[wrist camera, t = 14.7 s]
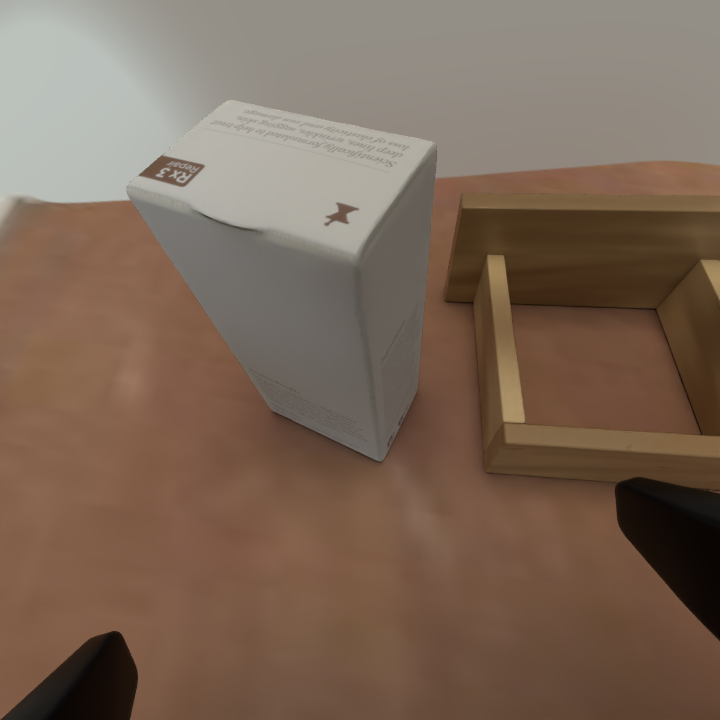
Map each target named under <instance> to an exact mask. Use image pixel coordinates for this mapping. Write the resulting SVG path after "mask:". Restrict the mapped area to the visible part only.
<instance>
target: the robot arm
mask: <svg viewBox="0 0 720 720" xmlns="http://www.w3.org/2000/svg"><path fill="white" fill-rule="evenodd" d="M615 497H616V509H617V520H618V524H619V527H620V529H621V531H622V532H623V534H624V535H625V536H626V538H627V539H628V540H629V541H630V542H631V543H632V545H633V546H634V547H635V548H636V549H637V550H638V551H639V553H640V554H641V555H642V556H643V557H644V558H645V560H646V561H647V562H648V563H649V564H650V565H651V567H652V568H653V569H654V570H655V571H656V572H657V574H658V575H659V576H660V577H661V578H662V579H663V581H664V582H665V583H666V584H667V585H668V586H669V587H670V589H671V590H672V591H673V592H674V593H675V594H676V596H677V597H678V598H679V599H680V600H681V601H682V602H683V603H684V605H685V606H686V607H687V608H688V609H689V610H690V611H691V612H692V613H693V614H694V615H695V616H696V617H697V618H698V619H699V621H700V622H701V623H702V624H703V625H704V626H705V627H706V628H707V629H708V630H709V631H710V632H711V633H712V634H713V635H714V636H715V637H716V638H717V639H718V640H719V641H720V494H717V493H713V492H708V491H704V490H699V489H694V488H690V487H685V486H681V485H676V484H671V483H667V482H662V481H658V480H653V479H648V478H644V477H633V478H630V479H627V480H623V481H620V482H618V483H617V484H616V487H615ZM137 683H138V673H137V668H136V665H135V663H134V660H133V658H132V656H131V654H130V651H129V649H128V647H127V644H126V642H125V640H124V638H123V636H122V634H121V633H120V632H118V631H112V632H108V633H105V634H102V635H98V636H95V637H92V638H91V639H89V640H88V641H86V642H85V643H84V644H83V645H82V646H81V647H80V648H79V649H78V650H77V651H75V652H74V653H73V654H72V655H71V656H70V657H69V658H68V659H67V660H66V661H65V662H63V663H62V664H61V665H60V666H59V667H58V668H57V669H56V670H55V671H54V672H52V673H51V674H50V675H49V676H48V677H47V678H46V679H45V680H44V681H43V682H42V683H40V684H39V685H38V686H37V687H36V688H35V689H34V690H33V691H32V692H31V693H29V694H28V695H27V696H26V697H25V698H24V699H23V700H22V701H21V702H20V703H19V704H17V705H16V706H15V707H14V708H13V709H12V710H11V711H10V712H9V713H8V714H6V715H5V716H4V717H3V718H2V719H1V720H130V717H131V712H132V707H133V703H134V698H135V693H136V689H137Z"/></svg>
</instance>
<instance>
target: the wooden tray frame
mask: <svg viewBox="0 0 720 720" xmlns="http://www.w3.org/2000/svg"><path fill="white" fill-rule="evenodd" d="M445 301H453V302H474V318H475V333H476V347H477V362H478V377H479V391H480V406H481V421H482V436H483V450H484V453H485V454H484V464H485V471H486V472H487V473H500V474H514V475H527V476H540V477H554V478H567V479H580V480H594V481H607V482H620V481H623V480H627V479H630V478H633V477H644V478H648V479H653V480H658V481H662V482H667V483H671V484H676V485H681V486H685V487H690V488H700V489H713V490H720V196H684V195H587V194H491V193H462V194H461V199H460V204H459V210H458V216H457V221H456V227H455V233H454V238H453V244H452V249H451V255H450V261H449V266H448V272H447V277H446V283H445ZM510 304H537V305H565V306H593V307H621V308H649V309H656V310H657V313H658V316H659V318H660V321H661V324H662V326H663V329H664V332H665V335H666V337H667V340H668V343H669V345H670V348H671V351H672V354H673V356H674V359H675V362H676V364H677V367H678V370H679V373H680V375H681V378H682V381H683V383H684V386H685V389H686V392H687V394H688V397H689V400H690V402H691V405H692V408H693V410H694V413H695V416H696V419H697V421H698V424H699V427H700V429H701V432H702V435H689V434H673V433H657V432H641V431H626V430H610V429H594V428H578V427H562V426H547V425H531V424H525V414H524V406H523V399H522V391H521V383H520V375H519V368H518V360H517V352H516V344H515V337H514V329H513V321H512V314H511V306H510Z"/></svg>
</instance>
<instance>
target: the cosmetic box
mask: <svg viewBox="0 0 720 720" xmlns="http://www.w3.org/2000/svg"><path fill="white" fill-rule="evenodd" d="M436 162H437V147H436V144H435V143H434V142H431V141H428V140H422V139H417V138H412V137H407V136H401V135H396V134H391V133H387V132H382V131H377V130H372V129H367V128H363V127H358V126H354V125H349V124H344V123H339V122H333V121H328V120H324V119H320V118H315V117H311V116H306V115H301V114H296V113H291V112H285V111H281V110H277V109H272V108H267V107H261V106H257V105H252V104H248V103H243V102H239V101H236V100H228V101H227V102H225V103H224V104H222V105H220V106H219V107H218V108H217V109H215V110H214V111H213V112H211V113H210V114H209V115H208V116H207V117H206V118H204V119H203V120H202V121H201V122H199V123H198V124H197V125H196V126H195V127H194V128H193V129H191V130H190V131H189V132H188V133H187V134H186V135H185V136H183V137H182V138H181V139H180V140H179V141H177V142H176V143H175V144H174V145H173V146H171V147H170V148H169V149H168V150H167V151H166V152H165V153H164V154H163V155H161V156H160V157H159V158H158V159H157V160H156V161H154V162H153V163H152V164H151V165H150V166H149V167H148V168H146V169H145V170H144V171H143V172H142V173H141V174H139V175H138V176H137V177H135V178H134V179H133V180H132V181H130V183H129V184H128V185H127V187H126V188H127V194H128V196H129V198H130V200H131V201H132V203H133V204H134V206H135V207H136V209H137V210H138V212H139V213H140V215H141V216H142V218H143V219H144V221H145V222H146V224H147V225H148V226H149V228H150V229H151V231H152V233H153V234H154V236H155V237H156V239H157V240H158V242H159V243H160V245H161V246H162V248H163V249H164V251H165V252H166V254H167V255H168V257H169V258H170V260H171V261H172V263H173V264H174V266H175V267H176V269H177V270H178V271H179V273H180V274H181V276H182V277H183V279H184V280H185V282H186V284H187V285H188V286H189V288H190V289H191V291H192V292H193V294H194V295H195V297H196V298H197V300H198V301H199V303H200V304H201V306H202V307H203V309H204V310H205V312H206V313H207V315H208V316H209V318H210V319H211V321H212V322H213V324H214V325H215V327H216V328H217V330H218V331H219V333H220V334H221V336H222V337H223V339H224V340H225V342H226V343H227V345H228V346H229V348H230V349H231V351H232V352H233V354H234V355H235V357H236V358H237V360H238V361H239V363H240V364H241V366H242V367H243V369H244V370H245V372H246V373H247V375H248V376H249V378H250V379H251V381H252V382H253V384H254V385H255V387H256V388H257V390H258V391H259V393H260V394H261V396H262V397H263V399H264V400H265V402H266V403H267V405H268V406H269V408H270V409H271V410H272V411H274V412H276V413H278V414H280V415H282V416H285V417H287V418H289V419H291V420H293V421H295V422H297V423H299V424H301V425H303V426H305V427H307V428H310V429H312V430H314V431H316V432H318V433H320V434H322V435H324V436H326V437H328V438H330V439H333V440H335V441H337V442H339V443H341V444H343V445H345V446H347V447H349V448H351V449H353V450H355V451H358V452H360V453H362V454H364V455H366V456H368V457H370V458H372V459H374V460H377V461H379V462H382V461H383V460H384V459H385V457H386V455H387V453H388V450H389V448H390V446H391V444H392V442H393V440H394V438H395V437H396V434H397V432H398V430H399V428H400V426H401V424H402V422H403V420H404V418H405V416H406V414H407V412H408V410H409V408H410V406H411V404H412V402H413V399H414V397H415V395H416V393H417V390H418V379H419V367H420V357H421V343H422V332H423V320H424V307H425V294H426V283H427V273H428V258H429V248H430V234H431V213H432V205H433V196H434V186H435V174H436Z"/></svg>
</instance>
